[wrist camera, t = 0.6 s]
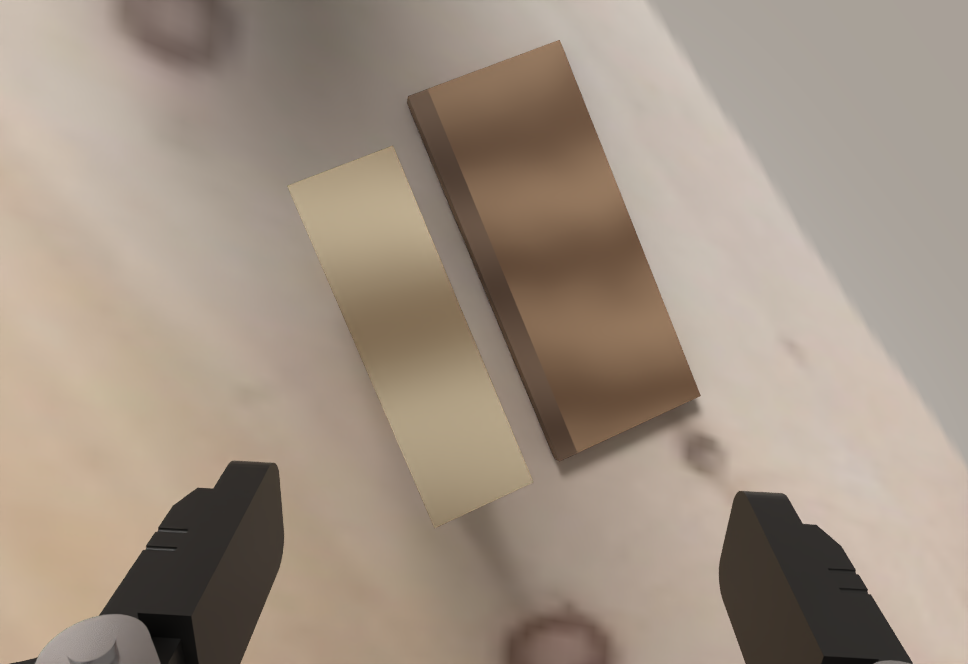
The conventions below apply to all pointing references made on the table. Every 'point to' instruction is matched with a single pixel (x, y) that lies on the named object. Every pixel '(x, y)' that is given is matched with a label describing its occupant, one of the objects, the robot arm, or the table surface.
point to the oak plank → (411, 334)
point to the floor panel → (554, 248)
